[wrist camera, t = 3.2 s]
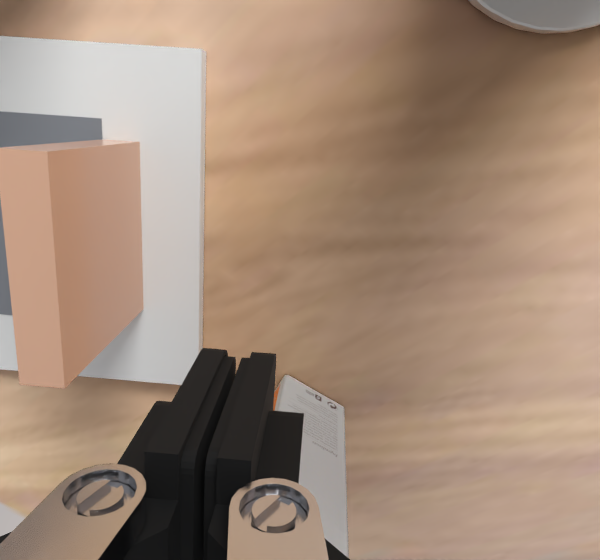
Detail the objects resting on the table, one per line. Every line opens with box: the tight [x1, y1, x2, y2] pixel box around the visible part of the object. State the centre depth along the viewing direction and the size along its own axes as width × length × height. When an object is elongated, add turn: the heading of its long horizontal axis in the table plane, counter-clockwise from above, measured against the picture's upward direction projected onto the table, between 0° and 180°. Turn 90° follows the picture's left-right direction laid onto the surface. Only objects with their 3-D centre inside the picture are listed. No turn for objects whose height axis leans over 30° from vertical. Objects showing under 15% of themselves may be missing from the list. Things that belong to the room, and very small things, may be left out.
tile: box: [0, 139, 144, 388], centre depth 23 cm, size 2×9×9 cm, turn 176°
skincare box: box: [273, 375, 349, 558], centre depth 26 cm, size 6×4×12 cm
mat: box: [0, 36, 206, 385], centre depth 28 cm, size 16×18×1 cm
